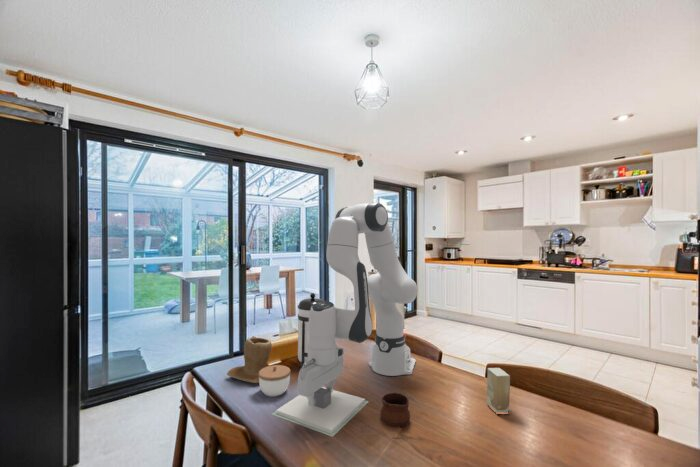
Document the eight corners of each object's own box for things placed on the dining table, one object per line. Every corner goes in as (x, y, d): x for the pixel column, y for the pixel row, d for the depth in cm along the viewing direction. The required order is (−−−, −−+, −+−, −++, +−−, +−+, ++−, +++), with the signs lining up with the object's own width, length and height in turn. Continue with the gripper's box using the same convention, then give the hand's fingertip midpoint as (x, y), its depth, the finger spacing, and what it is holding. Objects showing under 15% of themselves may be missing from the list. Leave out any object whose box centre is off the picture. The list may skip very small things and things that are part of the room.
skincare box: (486, 405, 105) (486, 367, 105) (499, 404, 106) (499, 367, 106) (496, 415, 99) (497, 375, 99) (510, 415, 99) (510, 375, 99)
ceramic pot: (426, 444, 85) (426, 416, 85) (360, 435, 89) (360, 409, 89) (425, 410, 103) (425, 387, 103) (369, 404, 106) (369, 382, 107)
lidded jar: (282, 403, 105) (283, 374, 106) (252, 399, 108) (252, 371, 108) (294, 388, 116) (295, 361, 116) (267, 385, 118) (267, 359, 118)
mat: (314, 387, 117) (314, 385, 117) (369, 402, 106) (369, 401, 106) (271, 415, 98) (271, 414, 98) (332, 438, 87) (332, 436, 87)
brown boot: (277, 376, 126) (278, 337, 126) (255, 388, 115) (256, 346, 115) (249, 368, 133) (249, 331, 133) (225, 379, 122) (226, 339, 123)
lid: (315, 387, 115) (315, 373, 116) (364, 401, 106) (365, 386, 106) (276, 413, 98) (276, 396, 98) (331, 433, 88) (331, 415, 88)
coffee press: (285, 365, 136) (286, 294, 137) (310, 354, 150) (311, 289, 150) (316, 375, 126) (317, 298, 127) (340, 363, 140) (341, 293, 140)
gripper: (309, 367, 92) (308, 417, 91) (346, 347, 109) (346, 388, 109) (292, 363, 95) (291, 410, 94) (331, 344, 112) (330, 384, 112)
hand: (320, 398), depth 102 cm, fingers open, 8 cm apart
